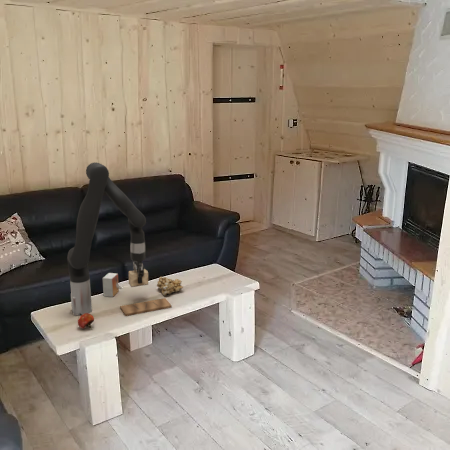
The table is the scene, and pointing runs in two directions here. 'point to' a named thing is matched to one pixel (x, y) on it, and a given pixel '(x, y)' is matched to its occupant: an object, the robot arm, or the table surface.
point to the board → (145, 307)
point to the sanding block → (134, 278)
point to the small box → (110, 284)
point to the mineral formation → (169, 285)
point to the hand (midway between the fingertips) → (138, 281)
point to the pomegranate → (85, 320)
